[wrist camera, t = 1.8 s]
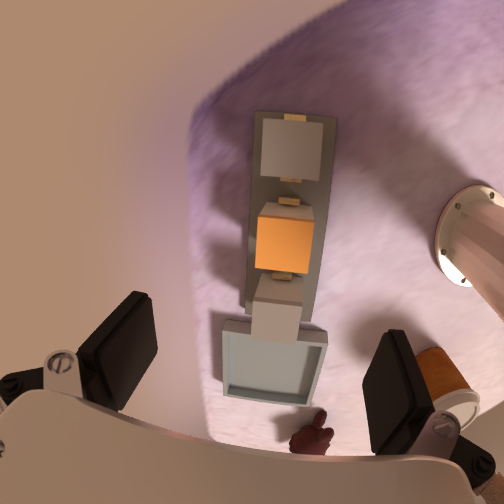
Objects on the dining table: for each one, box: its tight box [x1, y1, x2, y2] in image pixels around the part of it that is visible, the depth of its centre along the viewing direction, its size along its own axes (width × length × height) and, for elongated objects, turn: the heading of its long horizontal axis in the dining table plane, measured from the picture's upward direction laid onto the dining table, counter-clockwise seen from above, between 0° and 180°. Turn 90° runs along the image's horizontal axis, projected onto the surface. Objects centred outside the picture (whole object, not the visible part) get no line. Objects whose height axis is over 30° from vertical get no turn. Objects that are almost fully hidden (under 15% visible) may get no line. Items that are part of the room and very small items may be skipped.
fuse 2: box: [251, 273, 303, 345], centre depth 30 cm, size 5×5×6 cm
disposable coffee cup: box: [415, 347, 480, 431], centre depth 29 cm, size 10×10×12 cm
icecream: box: [289, 411, 334, 455], centre depth 40 cm, size 7×7×15 cm
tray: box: [222, 320, 328, 407], centre depth 37 cm, size 13×13×2 cm
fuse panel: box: [245, 111, 337, 322], centre depth 29 cm, size 8×23×3 cm, turn 177°
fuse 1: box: [260, 118, 323, 181], centre depth 24 cm, size 5×5×6 cm
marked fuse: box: [255, 202, 314, 274], centre depth 27 cm, size 5×5×6 cm
